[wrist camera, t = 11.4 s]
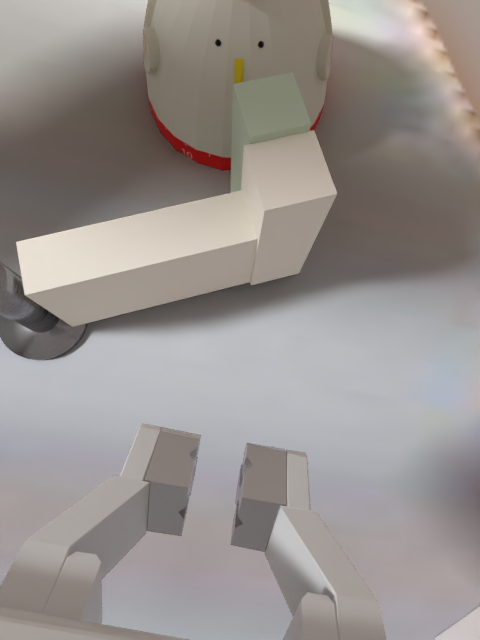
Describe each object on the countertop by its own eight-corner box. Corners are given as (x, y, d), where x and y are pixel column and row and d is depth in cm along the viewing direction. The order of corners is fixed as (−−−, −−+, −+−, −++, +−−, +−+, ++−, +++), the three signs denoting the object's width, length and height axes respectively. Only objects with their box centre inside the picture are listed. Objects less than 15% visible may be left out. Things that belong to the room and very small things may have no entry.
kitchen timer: (144, 168, 33) (80, -39, 18) (155, 23, 36) (108, -249, 22) (325, 173, 33) (403, -25, 19) (319, 30, 37) (381, -233, 22)
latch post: (230, 260, 31) (234, 160, 19) (213, 200, 32) (207, 71, 21) (296, 244, 32) (338, 137, 20) (277, 185, 33) (306, 51, 21)
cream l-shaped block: (73, 330, 28) (-12, 275, 18) (63, 281, 29) (-23, 203, 19) (299, 273, 30) (337, 193, 20) (284, 228, 31) (314, 130, 21)
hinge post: (-14, 301, 30) (-99, 256, 22) (66, 261, 31) (12, 204, 23) (20, 376, 29) (-56, 357, 21) (103, 332, 29) (59, 298, 22)
